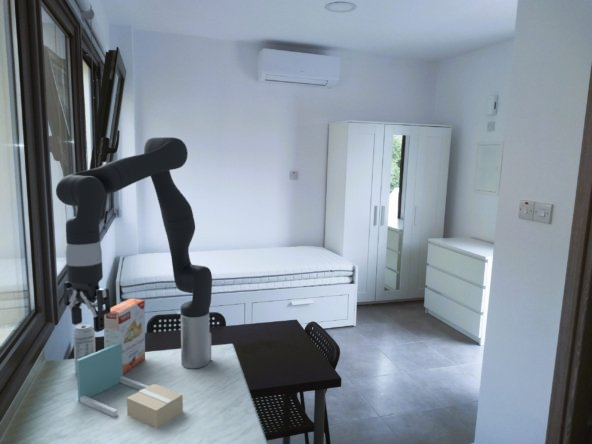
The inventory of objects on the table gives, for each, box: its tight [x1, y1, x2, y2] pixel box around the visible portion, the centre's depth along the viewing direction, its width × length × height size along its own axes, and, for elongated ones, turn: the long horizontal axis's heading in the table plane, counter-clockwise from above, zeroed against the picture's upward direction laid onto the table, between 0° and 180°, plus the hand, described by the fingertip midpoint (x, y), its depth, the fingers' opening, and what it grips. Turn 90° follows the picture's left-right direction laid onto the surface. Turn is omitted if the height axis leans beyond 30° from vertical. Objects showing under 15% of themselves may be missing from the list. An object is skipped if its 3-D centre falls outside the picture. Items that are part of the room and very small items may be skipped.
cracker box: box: [103, 298, 146, 375], centre depth 140 cm, size 14×6×21 cm, turn 166°
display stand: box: [76, 343, 149, 418], centre depth 122 cm, size 14×15×12 cm
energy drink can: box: [72, 322, 97, 373], centre depth 136 cm, size 6×6×15 cm
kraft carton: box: [126, 383, 184, 429], centre depth 115 cm, size 9×11×5 cm
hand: (87, 327), depth 104 cm, fingers open, 8 cm apart
